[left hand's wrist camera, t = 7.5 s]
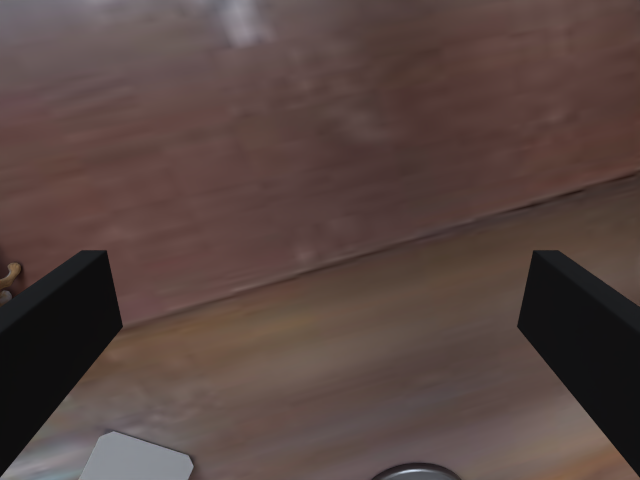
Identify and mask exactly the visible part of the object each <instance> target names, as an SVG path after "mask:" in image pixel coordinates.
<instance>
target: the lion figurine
mask: <svg viewBox="0 0 640 480" xmlns="http://www.w3.org/2000/svg"><path fill="white" fill-rule="evenodd" d="M8 269H9V274H8V276H7V277H5V278H3V279H0V290H1V289H3V288H5V287H9V286H11V285H12V283H13V281H14V280H15V278H16V277H17V275H18V274H19V273H20V271H21V266H20V264H18V263H16V262H14V263H11V264H9V265H8ZM0 298H1V299H0V307H1V306H3V305H4V304H5V303H7V302H8V301H10V300H11V299H12V295H11V293H10V292H9V291H6V290H3V291H1V293H0Z"/></svg>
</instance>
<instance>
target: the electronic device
mask: <svg viewBox="0 0 640 480" xmlns="http://www.w3.org/2000/svg"><path fill="white" fill-rule="evenodd" d="M193 467H194V466H193V464H192V462H191V460H190V458H189V456H188V455H186V454H183V453H180V452H176V451H173V450H170V449H167V448H164V447H161V446H158V445H155V444H152V443H149V442H145V441H142V440H139V439H136V438H133V437H130V436H127V435H124V434H121V433H117V432H114V431H113V432H110V433H108V434H105V435H103V436H100V437H99V439H98V441H97V443H96V445H95V447H94V449H93V451H92V453H91V455H90V458H89V460H88V462H87V464H86V466H85V468H84V470H83V472H82V474H81V476H80V478H79V480H188V478H189V476H190V474H191V472H192V469H193Z"/></svg>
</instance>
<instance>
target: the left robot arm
mask: <svg viewBox="0 0 640 480" xmlns="http://www.w3.org/2000/svg"><path fill="white" fill-rule="evenodd" d="M122 327H123V325H122V320H121V316H120V311H119V306H118V302H117V297H116V292H115V287H114V283H113V278H112V273H111V269H110V264H109V259H108V255H107V250H82V251H80V252H79V253H77V254H76V255H74V256H73V257H72V258H70V259H69V260H67V261H66V262H64V263H63V264H61V265H60V266H59V267H57V268H56V269H54V270H53V271H51V272H50V273H49V274H47V275H46V276H44V277H43V278H41V279H40V280H39V281H37V282H36V283H34V284H33V285H31V286H30V287H28V288H27V289H26V290H24V291H23V292H21V293H20V294H18V295H17V296H16V297H14V298H13V299H11V300H10V301H8V302H7V303H5V304H4V305H3V306H1V307H0V477H1V476H2V475H3V473H4V472H5V471H6V470H7V468H8V467H9V466H10V465H11V464H12V462H13V461H14V460H15V459H16V457H17V456H18V455H19V454H20V453H21V451H22V450H23V449H24V448H25V446H26V445H27V444H28V443H29V441H30V440H31V439H32V438H33V437H34V435H35V434H36V433H37V432H38V430H39V429H40V428H41V427H42V425H43V424H44V423H45V422H46V421H47V419H48V418H49V417H50V416H51V414H52V413H53V412H54V411H55V410H56V408H57V407H58V406H59V405H60V403H61V402H62V401H63V400H64V398H65V397H66V396H67V395H68V394H69V392H70V391H71V390H72V389H73V387H74V386H75V385H76V384H77V382H78V381H79V380H80V379H81V378H82V376H83V375H84V374H85V373H86V371H87V370H88V369H89V368H90V367H91V365H92V364H93V363H94V362H95V360H96V359H97V358H98V357H99V355H100V354H101V353H102V352H103V351H104V349H105V348H106V347H107V346H108V344H109V343H110V342H111V341H112V339H113V338H114V337H115V336H116V335H117V333H118V332H119V331H120V330H121V328H122ZM517 327H518V328H519V330H520V331H521V332H522V333H523V335H524V336H525V337H526V338H527V339H528V341H529V342H530V343H531V344H532V346H533V347H534V348H535V349H536V351H537V352H538V353H539V354H540V355H541V357H542V358H543V359H544V360H545V362H546V363H547V364H548V365H549V367H550V368H551V369H552V370H553V371H554V373H555V374H556V375H557V376H558V378H559V379H560V380H561V381H562V382H563V384H564V385H565V386H566V387H567V389H568V390H569V391H570V392H571V394H572V395H573V396H574V397H575V398H576V400H577V401H578V402H579V403H580V405H581V406H582V407H583V408H584V410H585V411H586V412H587V413H588V414H589V416H590V417H591V418H592V419H593V421H594V422H595V423H596V424H597V425H598V427H599V428H600V429H601V430H602V432H603V433H604V434H605V435H606V437H607V438H608V439H609V440H610V441H611V443H612V444H613V445H614V446H615V448H616V449H617V450H618V451H619V453H620V454H621V455H622V456H623V457H624V459H625V460H626V461H627V462H628V464H629V465H630V466H631V467H632V468H633V470H634V471H635V472H636V473H637V475H638V476H639V477H640V307H639V306H637V305H636V304H635V303H633V302H632V301H630V300H629V299H627V298H626V297H624V296H623V295H622V294H620V293H619V292H617V291H616V290H614V289H613V288H612V287H610V286H609V285H607V284H606V283H604V282H603V281H601V280H600V279H599V278H597V277H596V276H594V275H593V274H591V273H590V272H589V271H587V270H586V269H584V268H583V267H581V266H580V265H579V264H577V263H576V262H574V261H573V260H571V259H570V258H568V257H567V256H566V255H564V254H563V253H561V252H560V251H558V250H533V255H532V259H531V264H530V269H529V273H528V278H527V283H526V287H525V292H524V297H523V302H522V306H521V311H520V316H519V320H518V325H517ZM372 480H461V479H460V478H459V477H458V476H457V475H456V474H455V473H453V472H451V471H450V470H448V469H446V468H443V467H440V466H437V465H432V464H425V463H412V464H405V465H400V466H396V467H393V468H391V469H388V470H386V471H384V472H382V473H380V474H379V475H377V476H376V477H375V478H373V479H372Z"/></svg>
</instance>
